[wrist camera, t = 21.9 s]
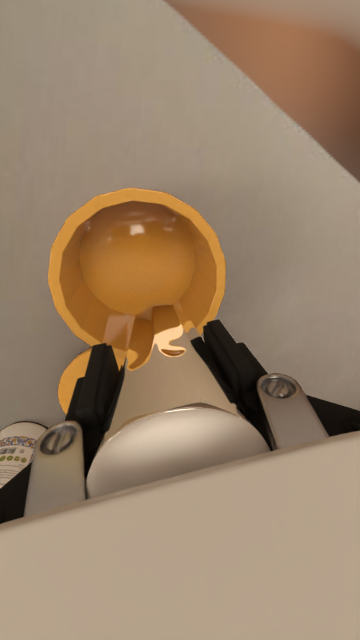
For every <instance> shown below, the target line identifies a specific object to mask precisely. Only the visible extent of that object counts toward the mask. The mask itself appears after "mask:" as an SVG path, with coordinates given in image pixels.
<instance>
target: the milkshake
mask: <svg viewBox="0 0 360 640" xmlns="http://www.w3.org/2000/svg"><path fill="white" fill-rule="evenodd" d="M266 452H270V449H269V447H268V445H267V443H266V441H265V440H264V438H263V437H262V435H261V433H260V432H259V430H258V429H257V427H256V425H255V424H254V422H253V421H252V419H251V418H250V416H249V415H248V413H247V412H246V410H245V408H244V407H243V405H242V404H241V402H240V401H239V399H238V398H237V396H236V394H235V393H234V391H233V390H232V388H231V387H230V385H229V384H228V382H227V380H226V379H225V377H224V376H223V374H222V372H221V371H220V369H219V367H218V366H217V364H216V362H215V360H214V359H213V357H212V355H211V353H210V352H209V350H208V348H207V347H206V345H205V343H204V342H203V340H202V338H201V336H200V335H199V333H198V331H197V330H196V328H195V326H194V325H193V323H192V321H191V319H190V318H189V316H188V315H187V314H185V313H184V312H182V311H181V310H180V309H178V308H177V307H176V306H174V305H173V304H152V305H150V306H149V307H147V308H146V309H144V310H142V311H141V312H139V313H138V314H136V315H135V318H134V321H133V324H132V326H131V329H130V332H129V335H128V339H127V343H126V347H125V351H124V355H123V359H122V363H121V367H120V371H119V375H118V379H117V383H116V387H115V390H114V392H113V395H112V398H111V401H110V404H109V407H108V410H107V414H106V417H105V420H104V424H103V427H102V430H101V433H100V437H99V440H98V443H97V447H96V450H95V453H94V456H93V460H92V463H91V467H90V470H89V473H88V476H87V480H86V492H87V498H88V499H91V498H94V497H98V496H102V495H106V494H109V493H113V492H117V491H121V490H124V489H128V488H132V487H136V486H139V485H143V484H147V483H151V482H155V481H158V480H162V479H166V478H170V477H174V476H177V475H181V474H185V473H189V472H193V471H197V470H200V469H204V468H208V467H212V466H216V465H220V464H223V463H227V462H231V461H235V460H239V459H243V458H247V457H251V456H255V455H259V454H262V453H266Z"/></svg>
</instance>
